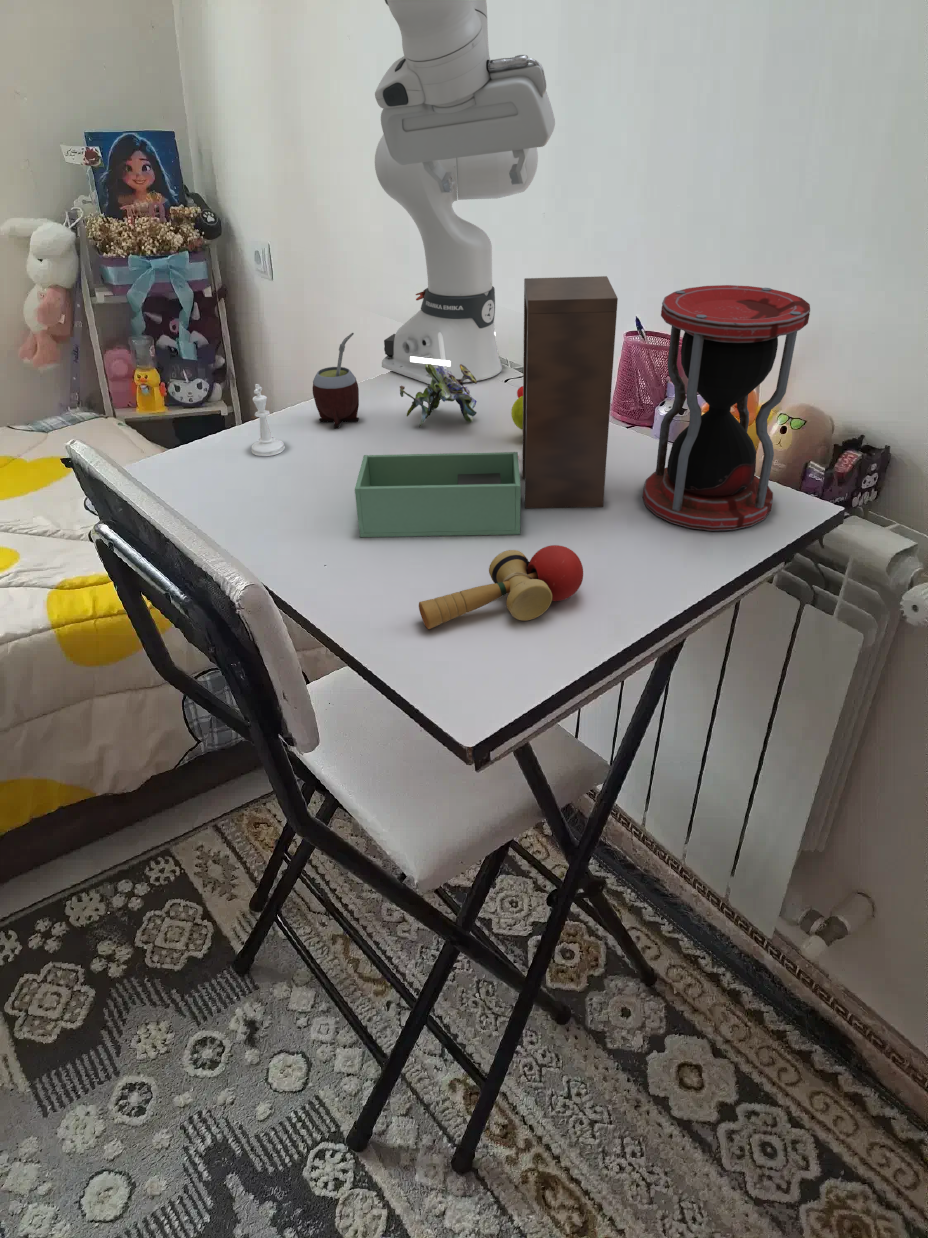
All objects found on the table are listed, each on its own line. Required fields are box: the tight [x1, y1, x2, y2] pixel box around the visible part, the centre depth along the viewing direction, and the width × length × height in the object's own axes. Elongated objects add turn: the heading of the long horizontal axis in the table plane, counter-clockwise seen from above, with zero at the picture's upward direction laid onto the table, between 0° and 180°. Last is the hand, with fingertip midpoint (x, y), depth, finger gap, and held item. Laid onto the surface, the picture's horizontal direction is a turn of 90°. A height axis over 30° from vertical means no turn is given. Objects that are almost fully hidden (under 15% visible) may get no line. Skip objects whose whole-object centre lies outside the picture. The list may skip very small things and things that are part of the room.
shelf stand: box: [521, 275, 619, 509], centre depth 107 cm, size 10×10×26 cm
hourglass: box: [641, 284, 811, 532], centre depth 104 cm, size 16×16×25 cm
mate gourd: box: [312, 332, 360, 430], centre depth 132 cm, size 8×8×15 cm
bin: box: [354, 451, 522, 538], centre depth 107 cm, size 20×10×7 cm, turn 89°
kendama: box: [418, 544, 584, 630], centre depth 90 cm, size 8×6×18 cm
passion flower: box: [399, 364, 478, 428], centre depth 133 cm, size 11×11×12 cm
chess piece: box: [251, 383, 286, 457], centre depth 126 cm, size 5×5×10 cm
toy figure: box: [510, 385, 523, 431], centre depth 127 cm, size 18×6×7 cm, turn 0°
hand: (484, 185), depth 106 cm, fingers open, 8 cm apart
